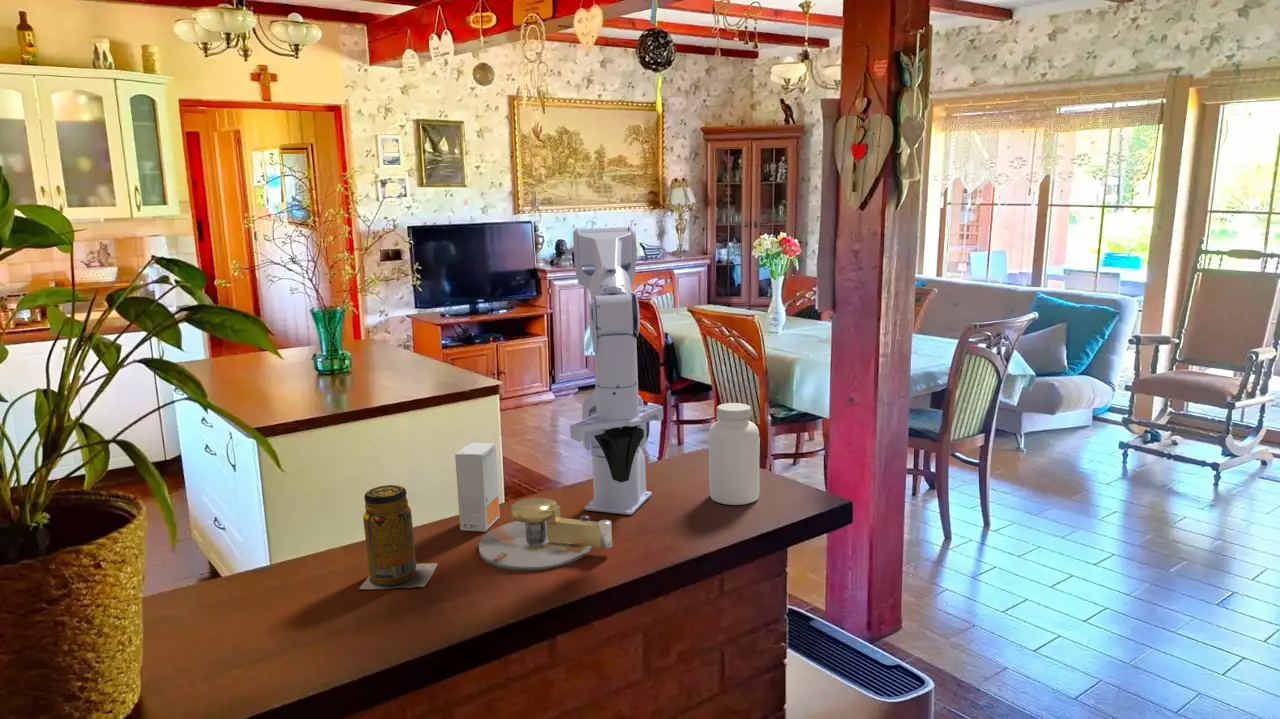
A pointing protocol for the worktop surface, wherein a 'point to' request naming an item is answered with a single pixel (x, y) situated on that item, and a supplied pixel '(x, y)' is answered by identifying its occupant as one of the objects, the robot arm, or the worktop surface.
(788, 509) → the worktop surface
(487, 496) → the skincare box
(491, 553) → the grey round base plate
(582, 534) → the brass latch lever
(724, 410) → the pill bottle
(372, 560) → the condiment
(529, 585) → the worktop surface
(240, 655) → the worktop surface
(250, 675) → the worktop surface
